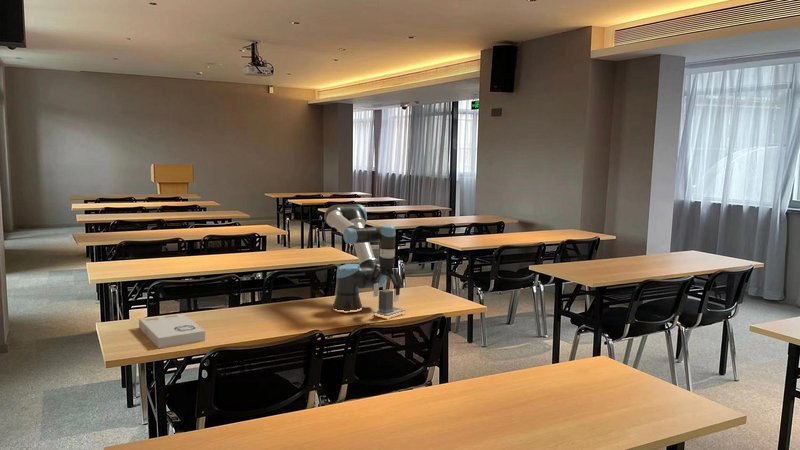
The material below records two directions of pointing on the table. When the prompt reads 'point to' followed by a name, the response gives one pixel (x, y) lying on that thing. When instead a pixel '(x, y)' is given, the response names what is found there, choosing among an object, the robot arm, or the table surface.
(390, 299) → the charger
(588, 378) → the table surface
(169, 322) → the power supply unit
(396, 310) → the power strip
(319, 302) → the table surface
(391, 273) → the robot arm
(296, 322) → the table surface
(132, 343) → the table surface
